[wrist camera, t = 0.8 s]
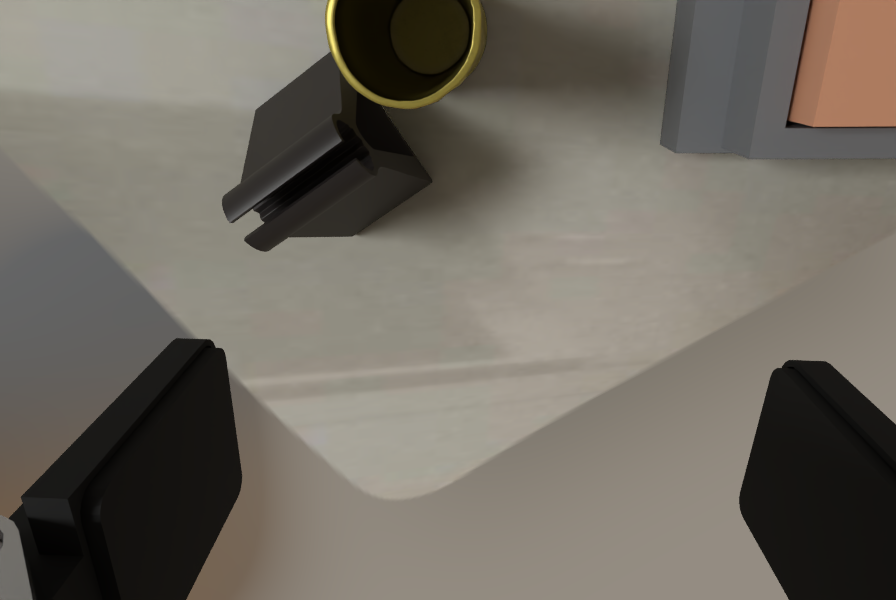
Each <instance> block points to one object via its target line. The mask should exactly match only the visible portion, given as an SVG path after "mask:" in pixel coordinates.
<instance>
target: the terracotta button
mask: <svg viewBox="0 0 896 600" xmlns="http://www.w3.org/2000/svg"><path fill="white" fill-rule="evenodd" d="M787 120H789V121H792V122H796V123H800V124H804V125H808V126H812V127H866V126H896V0H810V4H809V9H808V14H807V19H806V24H805V29H804V34H803V40H802V45H801V50H800V55H799V60H798V65H797V70H796V75H795V80H794V85H793V91H792V96H791V101H790V106H789V111H788V116H787Z"/></svg>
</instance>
